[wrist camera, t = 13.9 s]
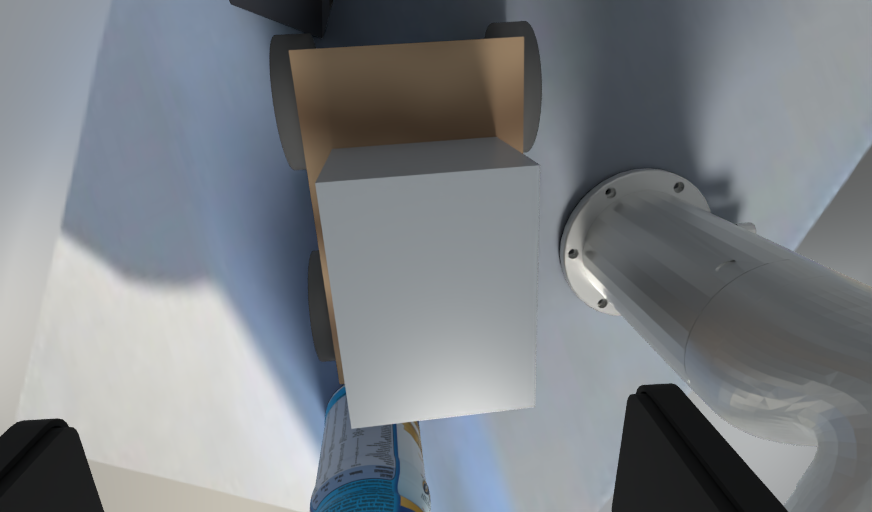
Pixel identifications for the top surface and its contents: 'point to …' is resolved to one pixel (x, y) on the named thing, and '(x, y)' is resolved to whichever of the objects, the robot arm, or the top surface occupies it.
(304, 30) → the phone stand
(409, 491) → the beverage bottle
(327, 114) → the trolley
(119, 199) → the top surface
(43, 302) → the top surface
